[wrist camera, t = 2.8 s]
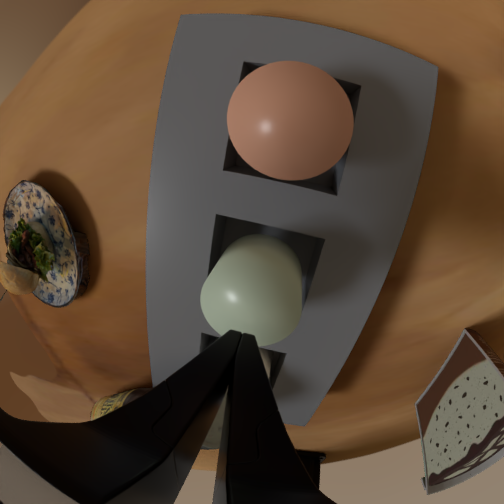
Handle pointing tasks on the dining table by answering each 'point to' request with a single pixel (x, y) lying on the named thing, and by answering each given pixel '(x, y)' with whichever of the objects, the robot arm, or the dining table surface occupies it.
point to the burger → (42, 248)
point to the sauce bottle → (125, 397)
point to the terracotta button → (290, 120)
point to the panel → (280, 193)
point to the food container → (462, 415)
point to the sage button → (255, 289)
